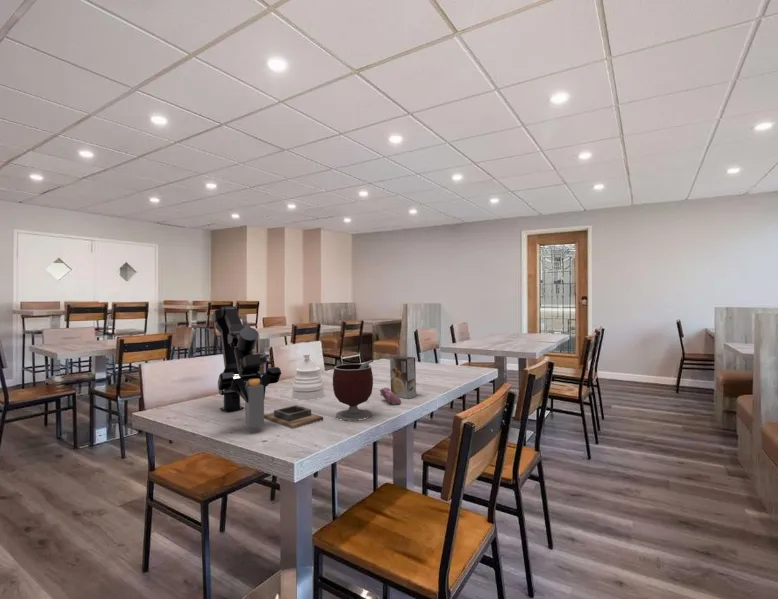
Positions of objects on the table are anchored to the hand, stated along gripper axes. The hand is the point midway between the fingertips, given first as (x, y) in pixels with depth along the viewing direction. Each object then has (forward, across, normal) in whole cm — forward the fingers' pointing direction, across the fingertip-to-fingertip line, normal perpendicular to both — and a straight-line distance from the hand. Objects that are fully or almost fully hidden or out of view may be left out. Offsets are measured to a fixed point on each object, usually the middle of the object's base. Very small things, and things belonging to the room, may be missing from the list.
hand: (255, 400), depth 125 cm
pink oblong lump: (+4, +53, +10) cm, 54 cm away
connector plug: (+4, 0, +6) cm, 8 cm away
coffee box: (0, +63, +14) cm, 64 cm away
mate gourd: (+9, +33, +5) cm, 35 cm away
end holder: (+2, +14, +12) cm, 19 cm away
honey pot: (-16, +31, +31) cm, 46 cm away
